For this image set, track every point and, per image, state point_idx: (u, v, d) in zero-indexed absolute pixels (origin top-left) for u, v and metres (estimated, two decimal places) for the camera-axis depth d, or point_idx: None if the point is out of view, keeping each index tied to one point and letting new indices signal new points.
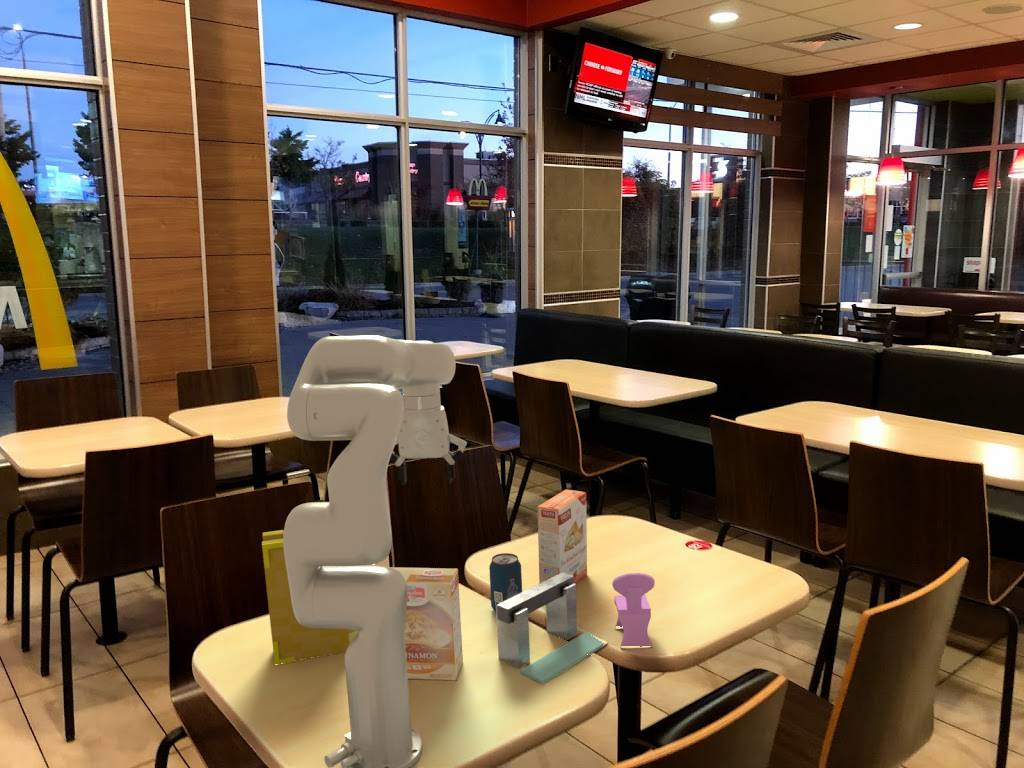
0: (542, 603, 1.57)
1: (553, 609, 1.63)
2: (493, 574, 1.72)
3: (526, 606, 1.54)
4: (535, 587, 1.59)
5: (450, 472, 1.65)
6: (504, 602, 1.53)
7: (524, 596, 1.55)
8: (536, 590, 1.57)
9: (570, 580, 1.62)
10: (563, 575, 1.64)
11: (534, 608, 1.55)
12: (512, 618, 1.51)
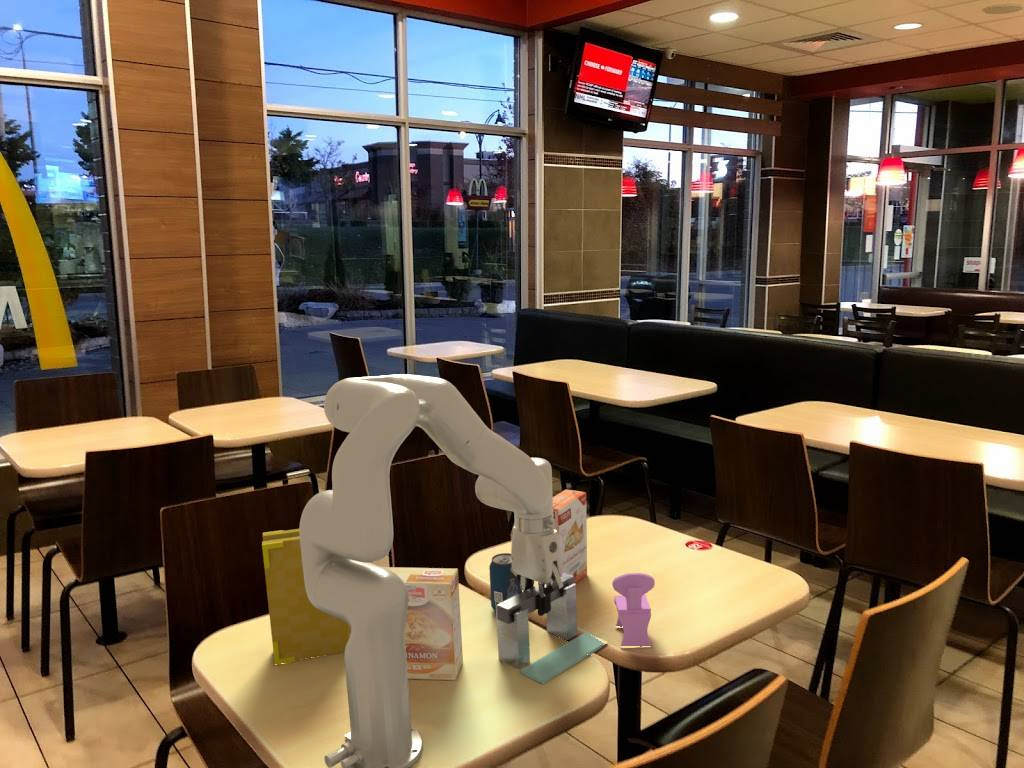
0: None
1: (553, 609, 1.63)
2: (493, 574, 1.72)
3: (526, 606, 1.54)
4: (535, 587, 1.59)
5: None
6: (504, 602, 1.53)
7: (524, 596, 1.55)
8: (536, 590, 1.57)
9: (570, 580, 1.62)
10: (563, 575, 1.64)
11: (534, 608, 1.55)
12: (512, 618, 1.51)
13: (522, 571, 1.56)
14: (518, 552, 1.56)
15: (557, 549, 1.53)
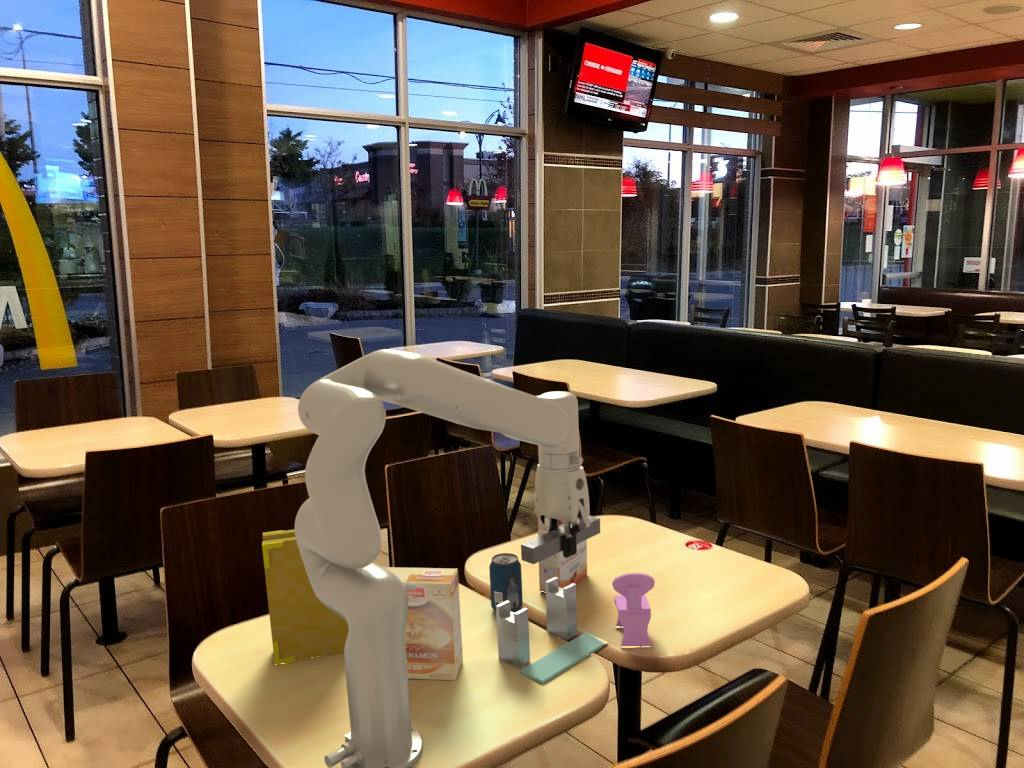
0: None
1: (553, 609, 1.63)
2: (493, 574, 1.72)
3: (551, 547, 1.46)
4: (560, 528, 1.51)
5: None
6: (528, 542, 1.45)
7: (549, 536, 1.48)
8: (562, 531, 1.50)
9: (596, 522, 1.55)
10: (588, 517, 1.56)
11: (559, 549, 1.48)
12: (537, 558, 1.44)
13: (546, 511, 1.49)
14: (542, 491, 1.48)
15: (584, 486, 1.46)
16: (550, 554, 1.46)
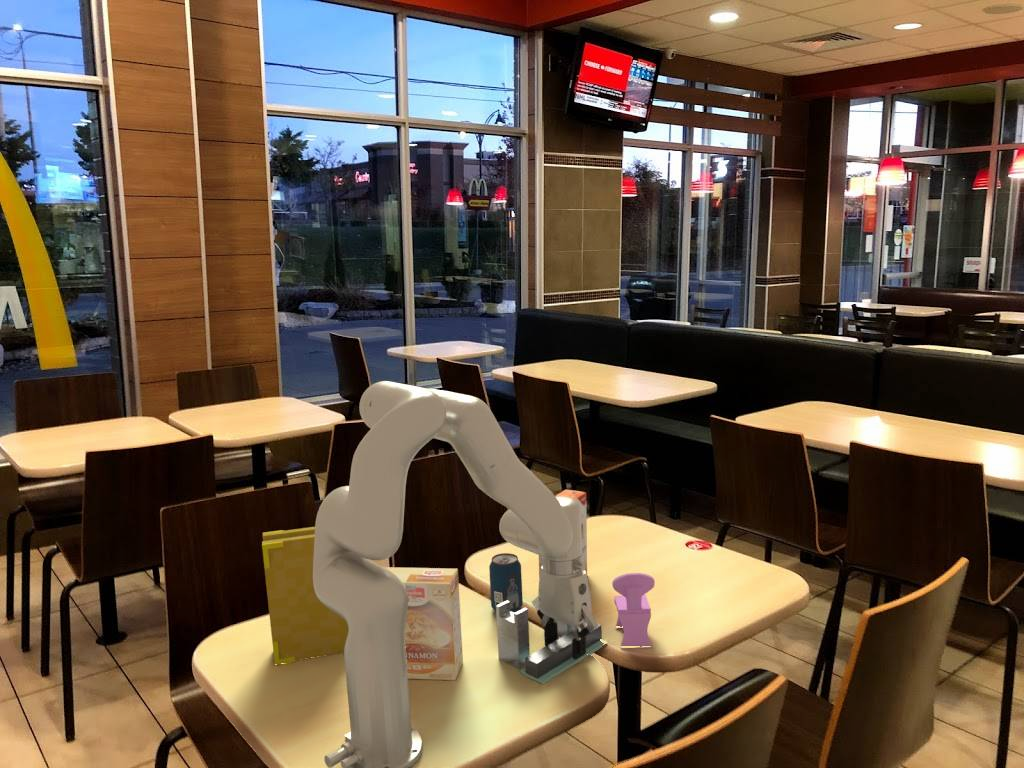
0: (570, 655, 1.53)
1: None
2: (493, 574, 1.72)
3: (554, 659, 1.50)
4: (563, 638, 1.55)
5: None
6: (532, 656, 1.49)
7: (552, 648, 1.52)
8: (564, 641, 1.54)
9: (598, 629, 1.59)
10: None
11: (562, 661, 1.52)
12: (541, 672, 1.48)
13: (550, 612, 1.53)
14: (546, 593, 1.52)
15: (586, 591, 1.49)
16: (553, 666, 1.50)
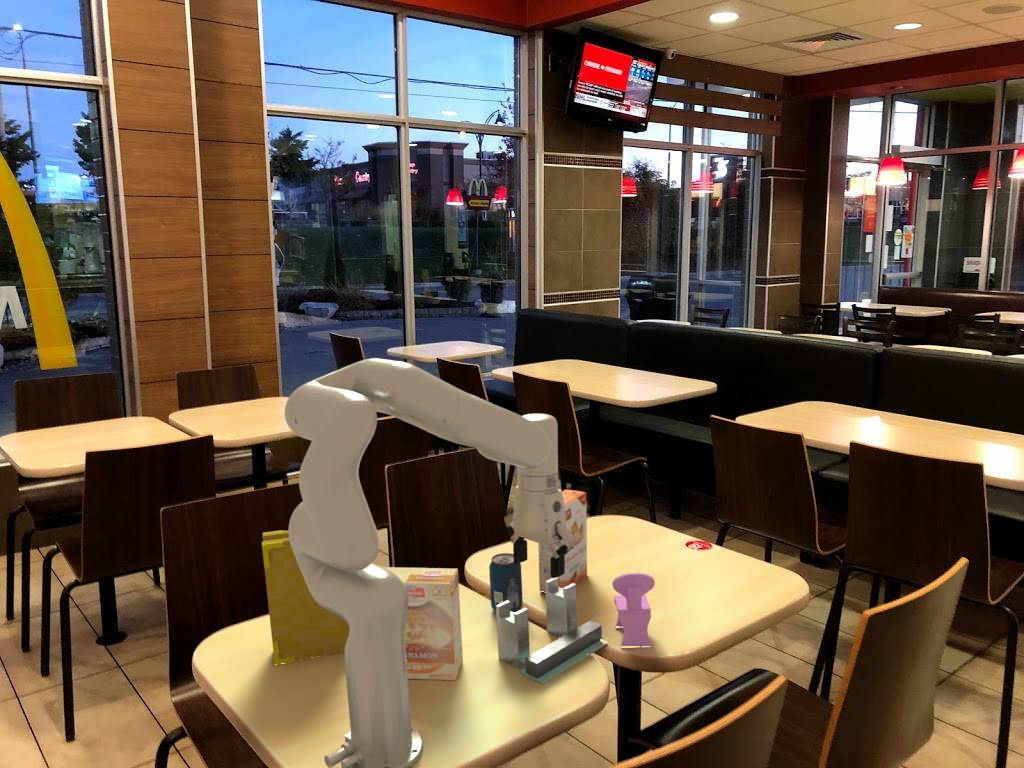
0: (570, 655, 1.53)
1: (553, 609, 1.63)
2: (493, 574, 1.72)
3: (554, 659, 1.50)
4: (563, 638, 1.55)
5: None
6: (532, 656, 1.49)
7: (552, 648, 1.52)
8: (564, 641, 1.54)
9: (598, 629, 1.59)
10: (590, 623, 1.60)
11: (562, 661, 1.52)
12: (541, 672, 1.48)
13: (524, 532, 1.49)
14: (520, 512, 1.49)
15: (561, 509, 1.46)
16: (553, 666, 1.50)
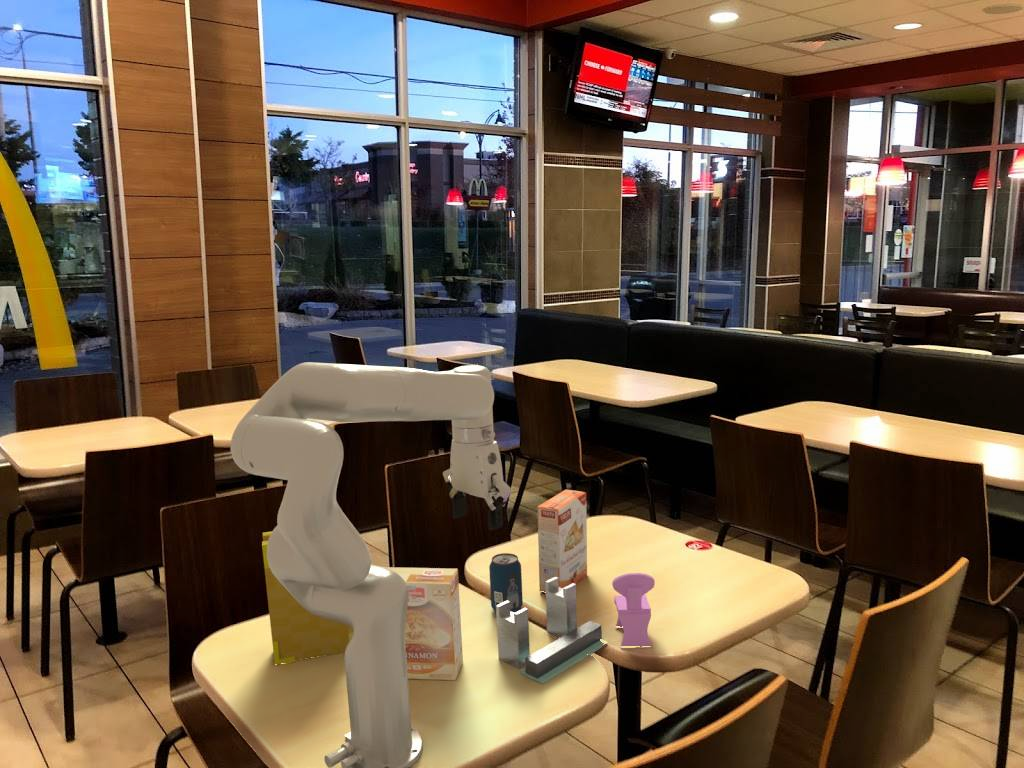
0: (570, 655, 1.53)
1: (553, 609, 1.63)
2: (493, 574, 1.72)
3: (554, 659, 1.50)
4: (563, 638, 1.55)
5: None
6: (532, 656, 1.49)
7: (552, 648, 1.52)
8: (564, 641, 1.54)
9: (598, 629, 1.59)
10: (590, 623, 1.60)
11: (562, 661, 1.52)
12: (541, 672, 1.48)
13: (461, 486, 1.48)
14: (456, 466, 1.47)
15: (497, 461, 1.45)
16: (553, 666, 1.50)
